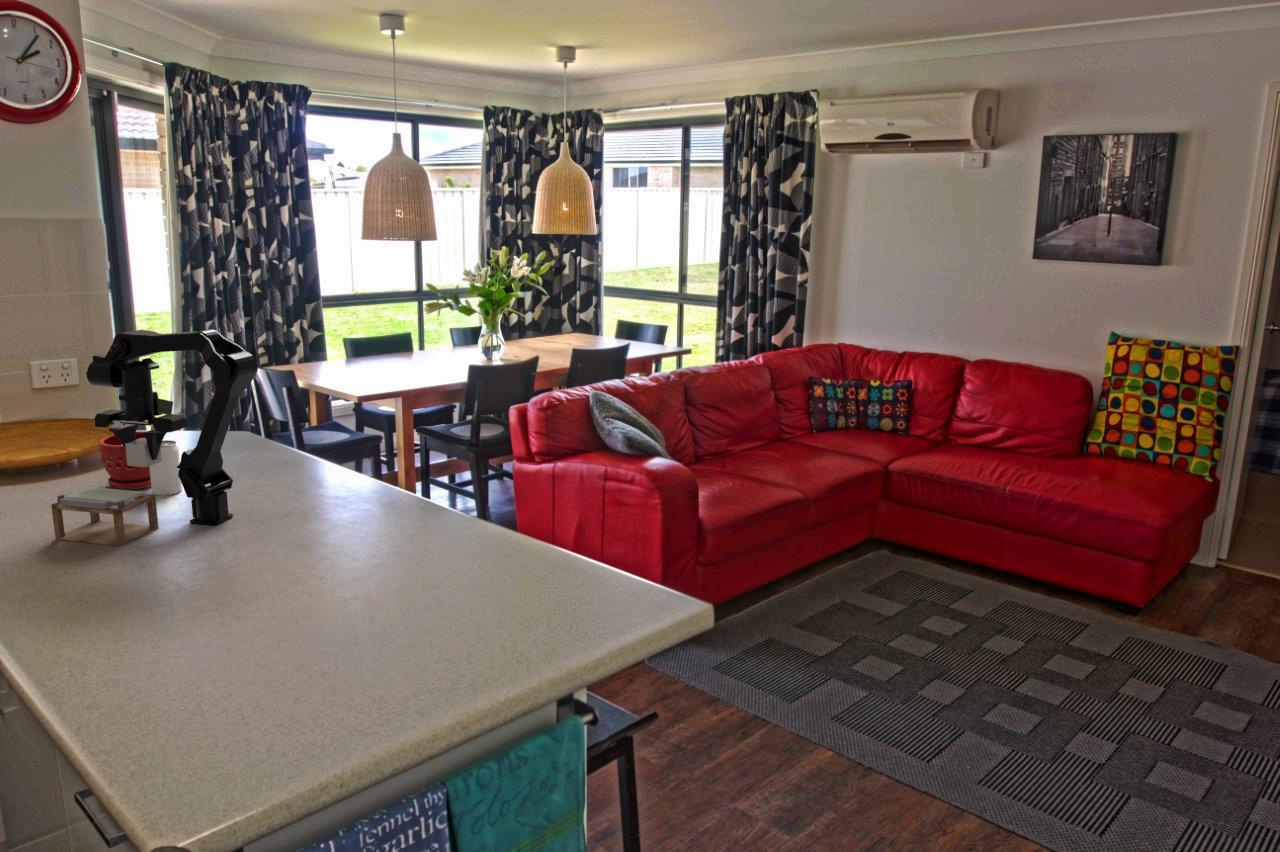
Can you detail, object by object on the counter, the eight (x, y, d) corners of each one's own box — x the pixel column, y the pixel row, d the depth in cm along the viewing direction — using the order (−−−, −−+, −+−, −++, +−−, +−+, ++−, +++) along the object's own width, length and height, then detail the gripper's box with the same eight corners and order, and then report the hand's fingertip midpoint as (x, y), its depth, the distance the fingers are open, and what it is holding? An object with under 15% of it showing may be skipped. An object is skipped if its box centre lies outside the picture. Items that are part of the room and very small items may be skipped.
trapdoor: (143, 495, 197) (143, 489, 196) (109, 509, 187) (109, 504, 187) (91, 490, 199) (90, 485, 198) (55, 504, 189) (54, 499, 189)
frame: (158, 528, 200) (154, 488, 198) (121, 546, 189) (117, 504, 187) (95, 522, 202) (90, 482, 200) (55, 539, 192) (50, 498, 190)
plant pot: (106, 480, 232) (101, 433, 229) (165, 475, 237) (161, 429, 234) (101, 495, 220) (96, 445, 217) (164, 489, 226) (159, 441, 223)
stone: (161, 461, 209) (159, 439, 208) (146, 467, 204) (144, 445, 203) (143, 459, 210) (141, 438, 208) (127, 465, 205) (125, 443, 204)
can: (173, 496, 221) (169, 447, 218) (146, 495, 221) (141, 446, 218) (187, 488, 227) (183, 440, 224) (160, 487, 227) (156, 439, 224)
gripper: (200, 385, 209) (205, 452, 213) (125, 380, 212) (132, 446, 216) (166, 394, 198) (173, 465, 202) (88, 389, 202) (96, 459, 205)
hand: (144, 458), depth 206 cm, fingers closed on stone, 5 cm apart
